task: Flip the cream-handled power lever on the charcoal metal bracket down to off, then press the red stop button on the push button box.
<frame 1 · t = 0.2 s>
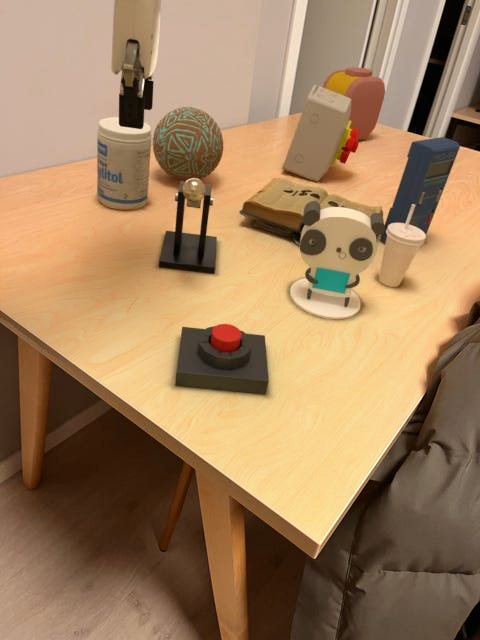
hand: (136, 117, 74), 22 cm above the table, tool pointing down, fingers open, 9 cm apart
stop button: (225, 338, 65), point 4 cm above the table, slide at 0.1 cm
smoothie: (388, 282, 92), on the table
electrical switch box: (316, 173, 133), on the table
push button box: (221, 365, 67), on the table
electronic device: (401, 241, 106), on the table
decorative sphere: (185, 179, 117), on the table
supplement tub: (123, 202, 103), on the table
book: (309, 230, 105), on the table
lever: (194, 194, 79), point 13 cm above the table, hinge at 30.0°
switch bracket: (188, 254, 89), on the table
alarm clock: (342, 137, 163), on the table
panda figurine: (322, 298, 84), on the table
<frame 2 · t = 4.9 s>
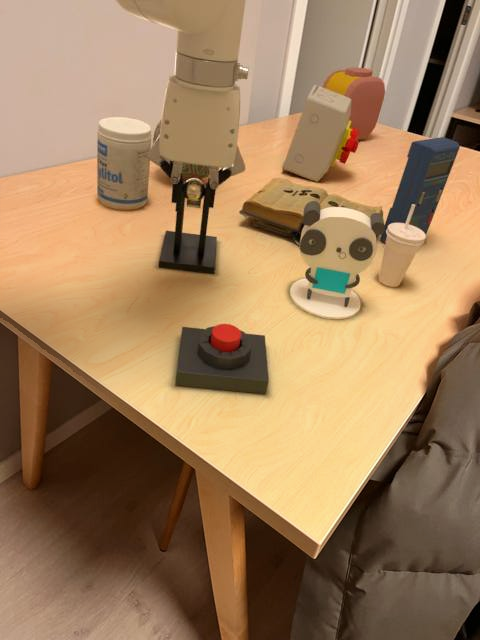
hand: (192, 208, 75), 12 cm above the table, tool pointing down, fingers closed on lever, 3 cm apart
lever: (194, 194, 79), point 13 cm above the table, hinge at 30.0°, touching gripper
everything else where it was.
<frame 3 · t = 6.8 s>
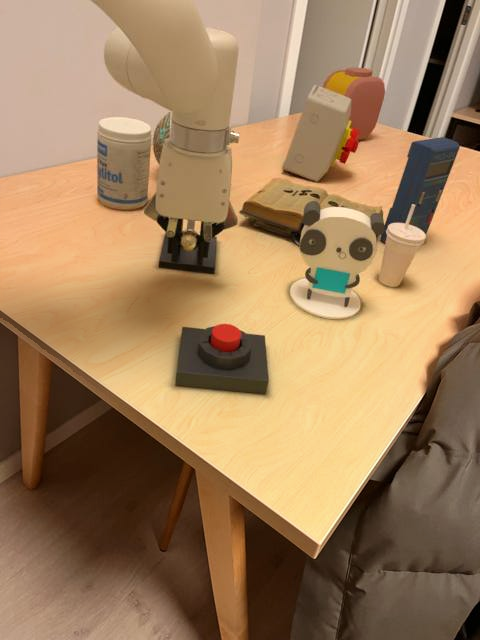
hand: (187, 258, 79), 5 cm above the table, tool pointing down, fingers closed on lever, 3 cm apart
lever: (191, 219, 80), point 9 cm above the table, hinge at -13.2°, touching gripper
everything else where it was.
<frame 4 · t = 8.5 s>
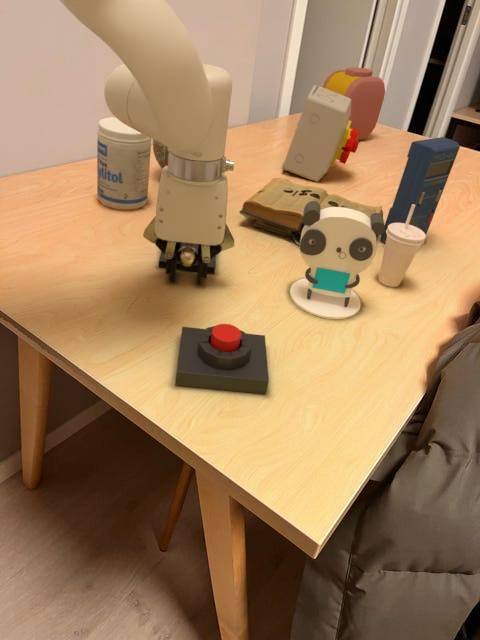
hand: (186, 277, 83), 0 cm above the table, tool pointing down, fingers open, 3 cm apart
lever: (190, 227, 82), point 7 cm above the table, hinge at -35.6°
everything else where it was.
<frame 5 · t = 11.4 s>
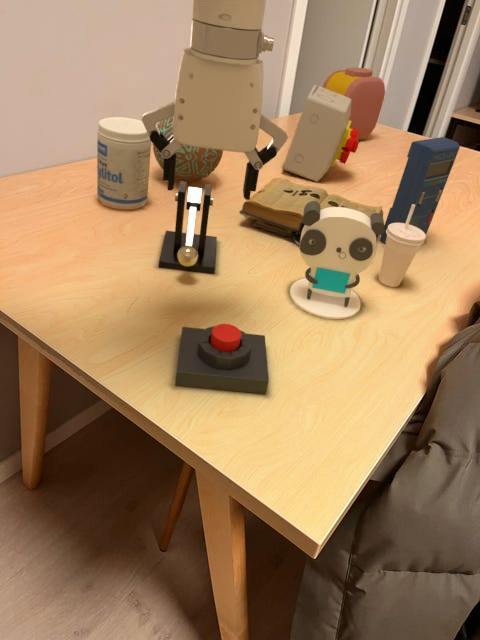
hand: (208, 191, 67), 18 cm above the table, tool pointing down, fingers open, 9 cm apart
nothing on the table moved.
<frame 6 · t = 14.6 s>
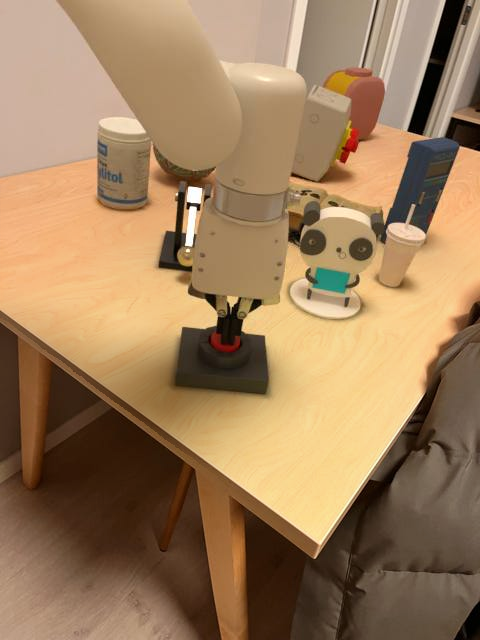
hand: (227, 337, 65), 5 cm above the table, tool pointing down, fingers closed
stop button: (224, 343, 65), point 4 cm above the table, slide at -0.8 cm, touching gripper
everything else where it was.
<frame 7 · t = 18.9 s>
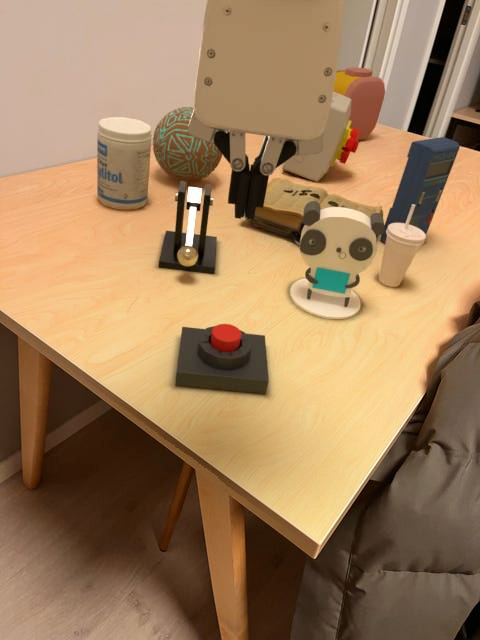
hand: (243, 212, 45), 25 cm above the table, tool pointing down, fingers closed
stop button: (225, 338, 65), point 4 cm above the table, slide at 0.1 cm
everything else where it was.
at the end: lever at -36° (first picture: +30°); stop button pushed in 1.1 cm at the most during the clip, back to where it started at the end; stop button slide at 0.1 cm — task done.
